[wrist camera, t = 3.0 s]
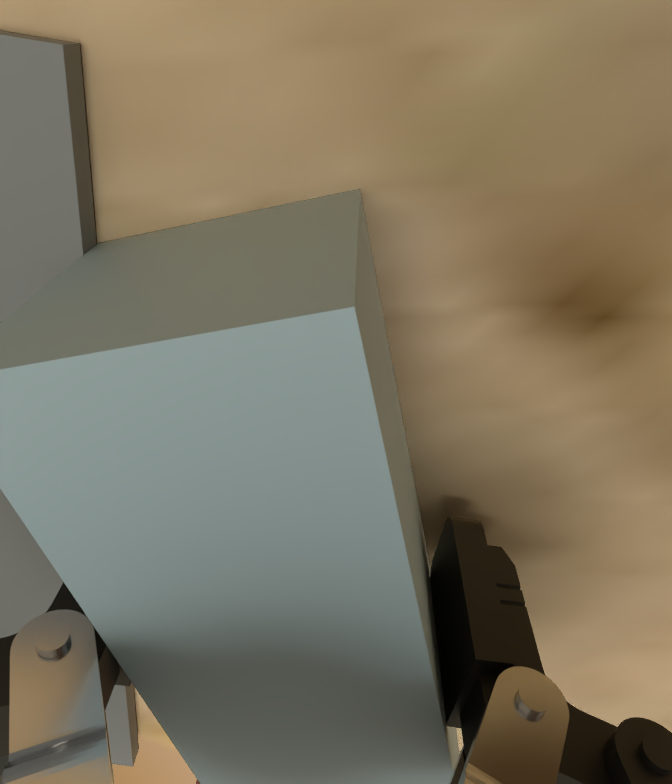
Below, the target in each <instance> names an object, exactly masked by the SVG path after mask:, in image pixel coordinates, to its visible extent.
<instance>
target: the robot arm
mask: <svg viewBox="0 0 672 784" xmlns="http://www.w3.org/2000/svg"><path fill="white" fill-rule="evenodd" d="M430 582H431V591H432V600H433V609H434V617H435V626H436V635H437V644H438V653H439V662H440V671H441V680H442V689H443V697H444V706H445V715H446V724H447V726H448V727H456V728H462V736H463V744H464V746H463V748H462V750H461V752H460V754H459V757H458V760H457V763H456V765H455V768H454V771H453V774H452V776H451V779H450V782H449V784H672V733H671V732H670V731H669V730H667V729H666V728H664V727H663V726H661V725H659V724H658V723H656V722H653V721H651V720H648V719H644V718H637V717H635V718H629V719H626V720H624V721H623V722H621V724H620V725H619V726H618V727H616V726H614V725H612V724H609V723H607V722H605V721H603V720H600V719H598V718H596V717H594V716H591V715H589V714H587V713H584V712H582V711H581V710H579V709H577V708H575V707H574V706H572V705H570V704H569V703H568V702H567V701H566V700H565V698H564V696H563V694H562V692H561V691H560V690H559V688H558V687H557V686H556V685H555V684H554V683H553V682H552V681H551V680H550V679H549V678H548V677H546V675H545V673H544V670H543V667H542V664H541V660H540V656H539V653H538V649H537V645H536V642H535V638H534V634H533V631H532V627H531V623H530V620H529V616H528V612H527V608H526V607H525V601H524V597H523V594H522V590H520V583H519V579H518V575H517V572H516V568H515V565H514V564H513V563H512V561H511V560H510V558H509V557H508V556H507V554H506V553H505V551H504V550H503V549H502V547H496V546H489V545H487V542H486V537H485V533H484V529H483V525H482V523H481V522H480V521H474V520H466V519H459V518H451V517H449V518H447V520H446V522H445V525H444V528H443V531H442V534H441V537H440V540H439V543H438V546H437V549H436V552H435V555H434V558H433V561H432V566H431V573H430ZM131 683H132V682H131V681H130V679H129V678H128V676H127V675H126V673H125V672H124V670H123V669H122V667H121V666H120V664H119V663H118V661H117V660H116V658H115V657H114V656H113V654H112V653H111V651H110V650H109V648H108V647H107V645H106V644H105V642H104V641H103V639H102V638H101V636H100V635H99V633H98V632H97V630H96V629H95V627H94V626H93V625H92V623H91V622H90V620H89V619H88V617H87V616H86V614H85V613H84V611H83V610H82V608H81V607H80V605H79V604H78V602H77V601H76V599H75V598H74V597H73V595H72V594H71V592H70V591H69V589H68V588H67V586H66V585H65V583H64V582H63V584H62V586H61V588H60V589H59V591H58V593H57V595H56V597H55V599H54V600H53V602H52V604H51V606H50V607H49V609H48V610H47V611H46V613H44V614H42V615H39V616H37V617H36V618H34V619H32V620H31V621H29V622H28V623H27V624H26V625H25V626H24V627H23V628H22V629H21V630H20V631H19V632H18V633H16V634H13V635H10V636H7V637H3V638H0V757H3V756H7V755H9V760H8V764H7V765H5V767H4V770H3V777H2V784H114V778H113V769H112V761H111V753H110V744H109V736H108V728H107V719H106V711H105V709H106V707H107V704H108V702H109V699H110V696H111V694H112V691H113V688H114V686H115V685H121V686H131Z"/></svg>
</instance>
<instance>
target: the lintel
mask: <svg viewBox="0 0 672 784" xmlns="http://www.w3.org/2000/svg"><path fill="white" fill-rule="evenodd" d="M0 489H1V490H2V492H3V493H4V495H5V496H6V498H7V499H8V501H9V502H10V504H11V505H12V507H13V508H14V509H15V511H16V512H17V514H18V515H19V517H20V518H21V520H22V521H23V523H24V524H25V526H26V527H27V529H28V530H29V532H30V533H31V535H32V536H33V538H34V539H35V540H36V542H37V543H38V545H39V546H40V548H41V549H42V551H43V552H44V554H45V555H46V557H47V558H48V560H49V561H50V563H51V564H52V566H53V567H54V568H55V570H56V571H57V573H58V574H59V576H60V577H61V579H62V580H63V582H64V583H65V585H66V586H67V588H68V589H69V591H70V592H71V594H72V595H73V597H74V598H75V599H76V601H77V602H78V604H79V605H80V607H81V608H82V610H83V611H84V613H85V614H86V616H87V617H88V619H89V620H90V622H91V623H92V625H93V626H94V627H95V629H96V630H97V632H98V633H99V635H100V636H101V638H102V639H103V641H104V642H105V644H106V645H107V647H108V648H109V650H110V651H111V653H112V654H113V656H114V657H115V658H116V660H117V661H118V663H119V664H120V666H121V667H122V669H123V670H124V672H125V673H126V675H127V676H128V678H129V679H130V681H131V682H132V684H133V685H134V686H135V688H136V689H137V691H138V692H139V694H140V695H141V697H142V698H143V700H144V701H145V703H146V704H147V706H148V707H149V709H150V710H151V712H152V713H153V715H154V716H155V717H156V719H157V720H158V722H159V723H160V725H161V726H162V728H163V729H164V731H165V732H166V734H167V735H168V737H169V738H170V740H171V741H172V743H173V744H174V745H175V747H176V748H177V750H178V751H179V753H180V754H181V756H182V757H183V759H184V760H185V762H186V763H187V764H188V766H189V768H190V769H191V771H192V772H193V773H194V775H195V776H196V778H197V779H198V781H199V782H200V784H449V782H450V779H451V776H452V774H453V771H454V768H455V765H456V763H457V760H458V757H459V747H458V739H457V731H456V727H448V726H447V724H446V715H445V706H444V697H443V689H442V680H441V671H440V662H439V653H438V644H437V635H436V626H435V617H434V609H433V600H432V591H431V582H430V573H431V569H430V564H429V558H428V553H427V548H426V542H425V537H424V531H423V526H422V521H421V515H420V510H419V505H418V499H417V494H416V488H415V483H414V478H413V472H412V467H411V461H410V456H409V451H408V445H407V440H406V435H405V429H404V424H403V418H402V413H401V408H400V402H399V397H398V391H397V386H396V381H395V375H394V370H393V365H392V359H391V354H390V348H389V343H388V338H387V332H386V327H385V322H384V316H383V311H382V305H381V300H380V295H379V289H378V284H377V278H376V273H375V268H374V262H373V257H372V252H371V246H370V241H369V235H368V230H367V225H366V219H365V214H364V208H363V203H362V198H361V192H360V189H357V190H352V191H347V192H343V193H338V194H333V195H328V196H323V197H318V198H314V199H309V200H304V201H299V202H294V203H289V204H285V205H280V206H275V207H270V208H265V209H260V210H256V211H251V212H246V213H241V214H236V215H232V216H227V217H222V218H217V219H212V220H208V221H203V222H198V223H193V224H188V225H184V226H179V227H174V228H169V229H164V230H160V231H155V232H150V233H145V234H140V235H136V236H131V237H126V238H121V239H116V240H112V241H107V242H102V243H98V244H96V245H95V246H94V247H93V248H91V249H90V250H89V251H88V252H87V253H85V254H84V255H83V256H82V257H80V258H79V259H78V260H77V261H76V262H74V263H73V264H72V265H71V266H70V267H68V268H67V269H66V270H65V271H63V272H62V273H61V274H60V275H59V276H57V277H56V278H55V279H54V280H52V281H51V282H50V283H49V284H48V285H46V286H45V287H44V288H43V289H41V290H40V291H39V292H38V293H37V294H35V295H34V296H33V297H32V298H31V299H29V300H28V301H27V302H26V303H24V304H23V305H22V306H21V307H20V308H18V309H17V310H16V311H15V312H13V313H12V314H11V315H10V316H9V317H7V318H6V319H5V320H4V321H2V322H1V323H0Z"/></svg>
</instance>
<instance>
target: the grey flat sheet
mask: <svg viewBox="0 0 672 784" xmlns="http://www.w3.org/2000/svg"><path fill="white" fill-rule="evenodd" d="M96 244H97V243H96V231H95V219H94V207H93V195H92V184H91V172H90V160H89V148H88V136H87V124H86V112H85V100H84V88H83V76H82V64H81V52H80V43H74V42H68V41H61V40H55V39H49V38H43V37H37V36H31V35H25V34H19V33H13V32H7V31H0V323H1V322H2V321H4V320H5V319H6V318H7V317H9V316H10V315H11V314H12V313H13V312H15V311H16V310H17V309H18V308H20V307H21V306H22V305H23V304H24V303H26V302H27V301H28V300H29V299H31V298H32V297H33V296H34V295H35V294H37V293H38V292H39V291H40V290H41V289H43V288H44V287H45V286H46V285H48V284H49V283H50V282H51V281H52V280H54V279H55V278H56V277H57V276H59V275H60V274H61V273H62V272H63V271H65V270H66V269H67V268H68V267H70V266H71V265H72V264H73V263H74V262H76V261H77V260H78V259H79V258H80V257H82V256H83V255H84V254H85V253H87V252H88V251H89V250H90V249H91V248H93V247H94V246H95V245H96ZM62 584H63V580H62V579H61V577H60V576H59V574H58V573H57V571H56V570H55V568H54V567H53V566H52V564H51V563H50V561H49V560H48V558H47V557H46V555H45V554H44V552H43V551H42V549H41V548H40V546H39V545H38V543H37V542H36V540H35V539H34V538H33V536H32V535H31V533H30V532H29V530H28V529H27V527H26V526H25V524H24V523H23V521H22V520H21V518H20V517H19V515H18V514H17V512H16V511H15V509H14V508H13V507H12V505H11V504H10V502H9V501H8V499H7V498H6V496H5V495H4V493H3V492H2V490H1V489H0V638H3V637H7V636H10V635H13V634H16V633H18V632H19V631H20V630H21V629H22V628H23V627H24V626H25V625H26V624H27V623H28V622H29V621H31V620H32V619H34V618H36V617H37V616H39V615H42V614H44V613H46V611H47V610H48V609H49V607H50V606H51V604H52V602H53V600H54V599H55V597H56V595H57V593H58V591H59V589H60V588H61V586H62ZM105 711H106V719H107V728H108V736H109V744H110V753H111V761H112V764H117V765H125V766H133V765H134V762H135V759H136V755H137V752H138V749H139V745H138V733H137V721H136V709H135V697H134V685H133V684H132V683H131V686H121V685H115V686H114V688H113V691H112V694H111V696H110V699H109V702H108V704H107V707H106V709H105Z"/></svg>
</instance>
